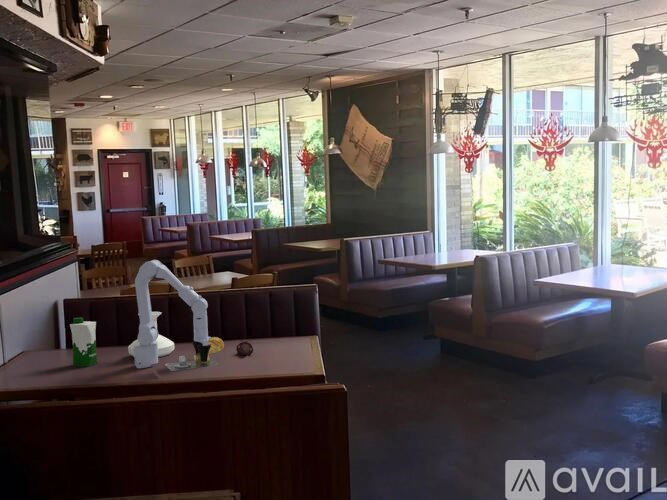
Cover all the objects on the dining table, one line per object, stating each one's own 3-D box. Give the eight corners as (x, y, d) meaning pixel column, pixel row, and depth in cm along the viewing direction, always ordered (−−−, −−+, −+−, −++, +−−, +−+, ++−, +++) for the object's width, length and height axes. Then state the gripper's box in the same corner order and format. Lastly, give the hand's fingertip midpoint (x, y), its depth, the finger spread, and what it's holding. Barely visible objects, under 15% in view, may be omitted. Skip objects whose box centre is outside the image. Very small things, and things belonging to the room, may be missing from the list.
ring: (196, 363, 281) (196, 356, 281) (193, 360, 286) (193, 353, 286) (210, 361, 284) (210, 354, 283) (207, 359, 289) (206, 352, 289)
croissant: (214, 365, 298) (222, 349, 298) (194, 354, 298) (201, 338, 298) (224, 353, 319) (231, 338, 319) (204, 343, 319) (212, 328, 319)
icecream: (254, 345, 290) (255, 341, 305) (237, 341, 289) (238, 337, 304) (251, 361, 289) (251, 356, 304) (234, 357, 289) (235, 353, 304)
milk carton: (81, 362, 295) (79, 316, 294) (100, 362, 293) (98, 316, 292) (69, 366, 286) (67, 319, 285) (89, 367, 285) (86, 320, 283)
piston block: (171, 374, 269) (170, 361, 269) (164, 366, 282) (163, 354, 282) (220, 367, 278) (220, 355, 277) (211, 360, 290) (211, 348, 290)
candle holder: (120, 361, 294) (117, 317, 293) (141, 351, 314) (139, 310, 313) (163, 362, 291) (161, 317, 289) (182, 352, 310) (180, 310, 309)
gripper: (214, 329, 279) (215, 362, 280) (205, 324, 292) (207, 355, 293) (197, 331, 276) (198, 364, 277) (189, 325, 289) (190, 357, 290)
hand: (202, 359), depth 285 cm, fingers open, 7 cm apart
